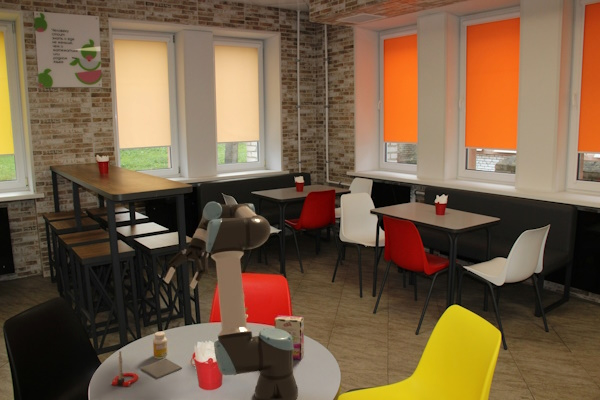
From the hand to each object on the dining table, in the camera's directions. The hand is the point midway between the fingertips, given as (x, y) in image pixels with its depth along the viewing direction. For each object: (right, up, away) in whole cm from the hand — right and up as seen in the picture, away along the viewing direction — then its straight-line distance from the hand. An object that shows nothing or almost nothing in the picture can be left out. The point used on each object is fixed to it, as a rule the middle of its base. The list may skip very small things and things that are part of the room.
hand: (178, 284), depth 228 cm
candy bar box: (+46, -28, -6) cm, 55 cm away
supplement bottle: (-6, -28, -6) cm, 30 cm away
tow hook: (-14, -32, -26) cm, 43 cm away
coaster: (-3, -30, -17) cm, 35 cm away
